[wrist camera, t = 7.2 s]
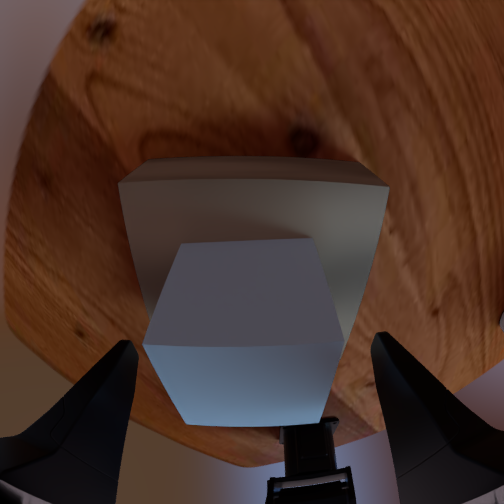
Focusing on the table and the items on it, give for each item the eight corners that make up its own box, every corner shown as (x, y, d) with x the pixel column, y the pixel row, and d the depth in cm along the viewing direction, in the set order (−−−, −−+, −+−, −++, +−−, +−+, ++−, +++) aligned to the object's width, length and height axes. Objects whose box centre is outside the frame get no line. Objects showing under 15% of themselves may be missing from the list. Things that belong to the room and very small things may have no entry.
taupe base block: (327, 312, 18) (340, 360, 15) (175, 310, 18) (162, 357, 15) (356, 160, 13) (389, 186, 9) (151, 156, 13) (117, 183, 9)
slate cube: (304, 329, 13) (319, 422, 9) (201, 332, 13) (186, 424, 9) (312, 237, 11) (344, 340, 6) (181, 243, 11) (142, 344, 7)
